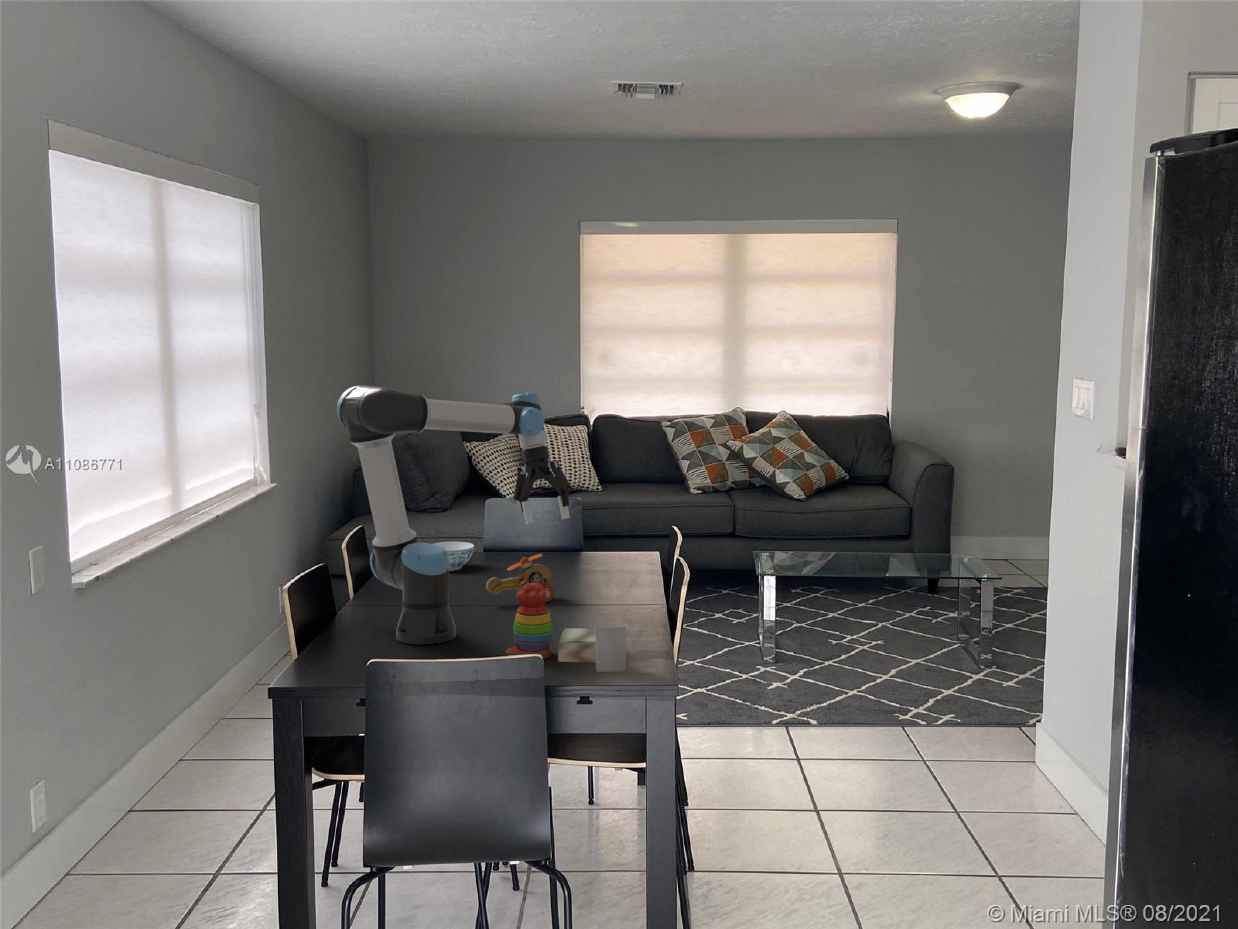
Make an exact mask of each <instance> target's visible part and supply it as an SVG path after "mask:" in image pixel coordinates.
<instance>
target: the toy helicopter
mask: <svg viewBox="0 0 1238 929" xmlns="http://www.w3.org/2000/svg"><path fill="white" fill-rule="evenodd" d="M541 557H543V554H542V553H538V554H536V555H532V556H530V557H526V556H525V557H524V556H523V557H522V558H521V559H520V561H519V562H517V563H515V564H512V565H510V566H509V567H508V568H507V572H508V571H510V572H511V571H513V570H515V569H517V568H521V569H522V570H521V571H520V572H518V575H517V576H514V577H509V578H504V579H501V578H499V577H494V576H493V577H491V578H488V580H487V581H486V584H485V588H486V591H487V592H488V593H489V594H491V595H493V596H495V595H499V594H500V593H501V592H503V591H509V590H510V591H511V590H516V591H517V593H518V592H519V591H520V589H521V588H522V587H523V586H524V585H526V584H528V583H537V582H541V583H542V585H543V587H544V589H545V591H546V601H545V603H548V602H550V601H552V599H553V598H554V597H555V596H554V595H555V590H554V588H553V587H552V586H551V584H552V579H553V576H552V571H551V569H550V568H549V567H548V566H547V565H544V564H539V563H536V564H535V563H534V564H533V561H535V560H537V559H540V558H541Z"/></svg>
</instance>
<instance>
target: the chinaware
mask: <svg viewBox="0 0 1238 929" xmlns="http://www.w3.org/2000/svg"><path fill="white" fill-rule="evenodd" d="M433 544H436V545H439V546H441V547H443V548H444V549H445V550H446V551H447V553H448V560H449V572H455V571H454V570H457V571H459V570H458V569H460V570H462V569H461V568H463V566H464V565H466V564H467V563H468V562H469V561H470V559H471V557H472V555H473V553H474V549H475V545H474V544H473V543H471V542H466V541H442V542H441V541H440V542H435V543H433Z"/></svg>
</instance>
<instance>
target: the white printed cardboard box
mask: <svg viewBox="0 0 1238 929" xmlns="http://www.w3.org/2000/svg"><path fill="white" fill-rule="evenodd" d="M595 629H596V663H595V670H596V673H606V672H611V673H612V672H614V673H615V672H626V671H627V633H626V626H596V627H595Z"/></svg>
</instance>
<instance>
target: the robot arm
mask: <svg viewBox="0 0 1238 929" xmlns="http://www.w3.org/2000/svg"><path fill="white" fill-rule="evenodd" d="M336 405H337V406H336V413H337V414H336V416H337V419H338V420H339V422H340V423H341V424H342V426H344V427H345V428H346V430H347V434H348V438H349V442H350V443H351V444H352V445H353V446H355V447H356V448H357V451H358V456H359V460H360V464H361V469H362V474H363V478H364V483H365V488H366V492H367V497H368V501H369V507H370V511H371V515H372V520H373V524H374V528H375V533H376V534H375V535H376V536H374V538H373V539H372V541H371V543H372V544H371V545H372V548H373V550H372V552H371V553H370V557H369V565H370V568H371V571H372V573H373V575H374V576H375V577H376V579H378V580H379V581H381V582H382V583H383V584H385V585H387V586H389V587H392V588H395V589H396V588H397V589H399V590H401V591H402V593H401V594H402V610H401V612H400V615H399V620H398V622H397V626H396V629H395V638H396V640H397V641H398V642H400V643H403V644H407V643H408V644H407V645H415V646H418V645H419V646H421V645H422V644H429V645H436V644H435V643H438V644H442V643H443V644H444V643H446V641H447V642H450V641H452V640H454V639H455V638H456V637H457V626H456V624H455V620H454V617H453V614H452V611H451V609H450V594H449V593H450V589H449V588H450V586H449V584H450V582H449V581H450V580H449V579H450V577H449V573H450V571H449V560H448V553H447V551H446V550H445V549H444V548H443V547H441V546H439V545H436V544H434V543H428V542H419V540H418V535H417V532H416V531H415V530H413V529H412V528H410V525H409V521H408V517H407V510H406V506H405V501H404V497H403V491H402V487H401V483H400V477H399V473H398V469H397V463H396V459H395V453H394V449H393V444H392V440H393V438H394V437H395V435H396V434H399V433H400V434H401V433H422V432H423V431H424V430H436V431H452V432H453V431H455V432H470V433H471V432H472V433H474V432H475V433H484V434H489V433H490V434H507V435H518V439H519V440H518V441H519V447H520V449H522V450H521V456H522V462H523V463H524V464H525V465H524V466H519V467H517V468H516V471H517V476H516V477H517V478H516V484H515V488H514V494H513V500H514V501H518V502H519V503H520V508H521V512H522V514H523V518H524V522H525V525H530V524H534V523H535V522H534V516H533V515H534V514H533V510H532V505H531V504H532V503H531V500H530V499H529V496H530V494H531V491H532V489H533V486H534V484H535V482H536V481H539V480H545V481H547V483H548V484H550V486H551V487H552V488H553V489H554V490H555V492H557V493H558V496H557V502H558V506H559V511H560V512H559V513H560V517H561V520H565V519H569V518H571V516H570V512H569V506H570V501H569V493H570V492H573V487H572V485H571V484H570V482H569V480H568V478H567V476H566V475H565V474H564V472H563V470H562V468H561V466H560V463H559V460H550V461H549V459H550V452H549V448H548V447H549V446H547V445H546V444H547V443H548V442H547V438H546V431H545V416H544V414H543V412H542V408H541V407H542V406H541V403H540V399H539V396H538V394H537V392H535V391H529V392H522V393H519V394H514V395H512V397H511V401H510V402H504V403H497V404H496V403H495V404H493V403H482V402H481V403H480V402H471V401H457V400H446V399H445V400H443V399H442V400H441V399H432V398H431V399H430V398H427V397H426V396H425V395H424V394H420V393H412V392H407V391H401V390H397V389H394V388H390V387H385V386H383V387H382V386H372V385H368V384H363V385H355V386H352V387H350V388H348V389H346V390H345V391H344V392H343V393H342V395H341V396H340V397H339V399H338V401H337V404H336ZM449 640H450V641H449ZM420 644H421V645H420ZM422 646H423V645H422Z"/></svg>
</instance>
